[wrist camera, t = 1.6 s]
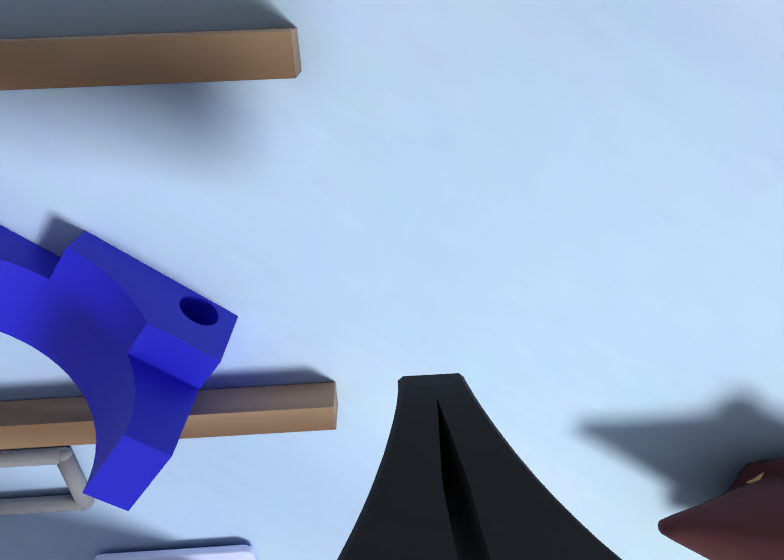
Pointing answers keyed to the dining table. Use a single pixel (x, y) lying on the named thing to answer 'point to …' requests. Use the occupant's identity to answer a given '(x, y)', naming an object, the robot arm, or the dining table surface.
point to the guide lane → (159, 66)
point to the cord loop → (47, 503)
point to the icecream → (737, 518)
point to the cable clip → (115, 348)
